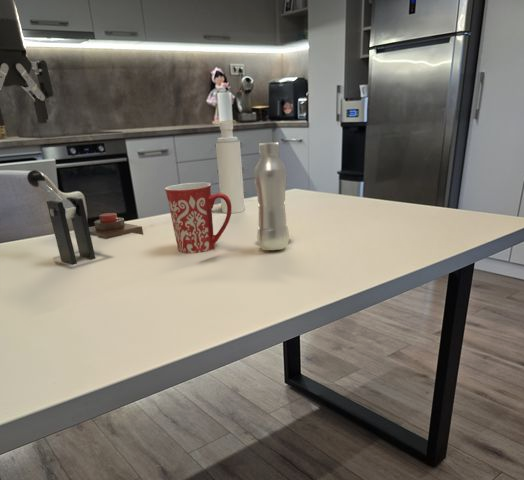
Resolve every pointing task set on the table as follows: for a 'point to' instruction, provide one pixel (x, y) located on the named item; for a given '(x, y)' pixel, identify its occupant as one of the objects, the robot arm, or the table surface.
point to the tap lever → (51, 192)
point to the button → (108, 217)
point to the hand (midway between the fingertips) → (22, 124)
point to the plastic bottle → (271, 198)
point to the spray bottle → (230, 168)
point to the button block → (113, 229)
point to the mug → (194, 216)
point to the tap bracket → (64, 235)
